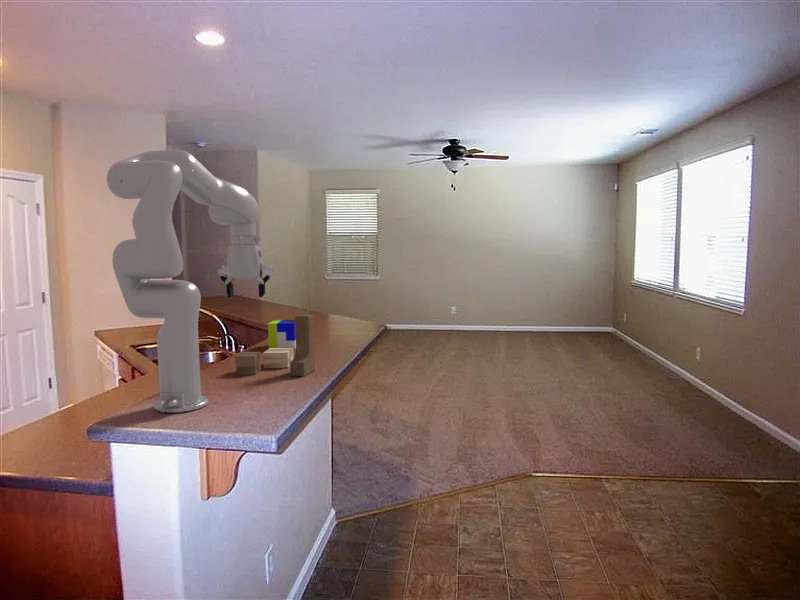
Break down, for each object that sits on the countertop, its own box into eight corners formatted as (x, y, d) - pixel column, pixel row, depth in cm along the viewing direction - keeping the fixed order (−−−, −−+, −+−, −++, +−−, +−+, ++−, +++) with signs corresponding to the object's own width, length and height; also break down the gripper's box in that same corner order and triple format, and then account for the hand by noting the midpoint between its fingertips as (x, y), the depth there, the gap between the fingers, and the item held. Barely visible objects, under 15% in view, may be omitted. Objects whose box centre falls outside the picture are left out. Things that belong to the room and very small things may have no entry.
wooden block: (303, 377, 167) (302, 318, 165) (290, 376, 168) (288, 317, 166) (315, 370, 176) (313, 314, 174) (302, 369, 177) (300, 314, 175)
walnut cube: (255, 374, 171) (254, 355, 171) (236, 374, 171) (235, 355, 171) (261, 370, 177) (260, 352, 177) (242, 370, 177) (241, 352, 177)
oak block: (287, 367, 180) (287, 352, 179) (263, 367, 180) (263, 352, 180) (293, 362, 188) (293, 348, 187) (270, 362, 188) (269, 348, 188)
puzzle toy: (294, 349, 212) (294, 323, 211) (268, 349, 212) (268, 323, 211) (299, 344, 222) (299, 319, 221) (275, 344, 222) (274, 319, 221)
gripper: (274, 241, 174) (276, 295, 176) (220, 241, 174) (223, 295, 176) (268, 241, 166) (270, 297, 168) (211, 242, 167) (214, 298, 169)
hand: (246, 296), depth 172 cm, fingers open, 9 cm apart
